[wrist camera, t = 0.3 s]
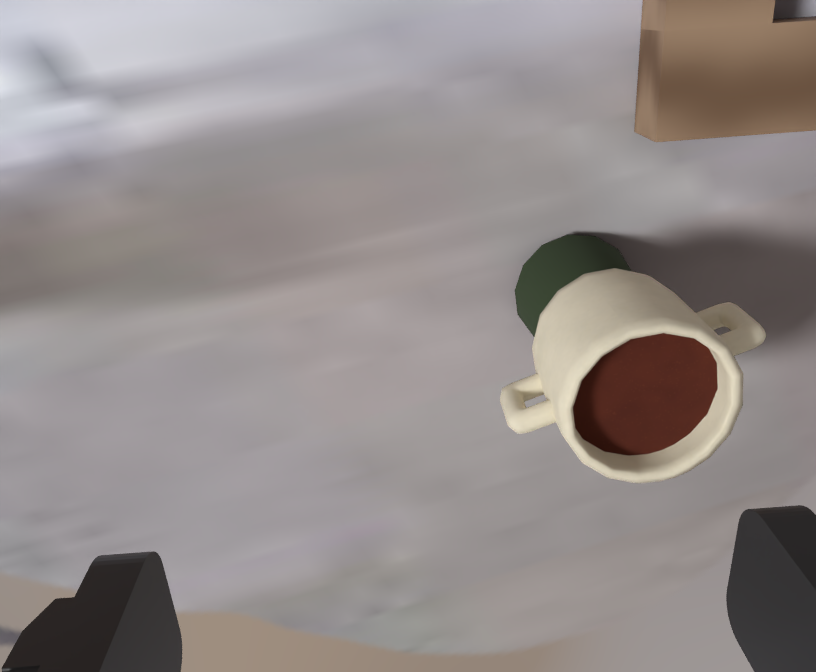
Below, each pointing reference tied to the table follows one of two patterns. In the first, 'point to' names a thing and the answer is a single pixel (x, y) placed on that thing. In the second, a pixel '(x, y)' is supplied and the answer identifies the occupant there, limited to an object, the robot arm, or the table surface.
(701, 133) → the walnut bottle holder
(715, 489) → the table surface
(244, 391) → the table surface
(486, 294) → the table surface
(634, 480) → the character mug
